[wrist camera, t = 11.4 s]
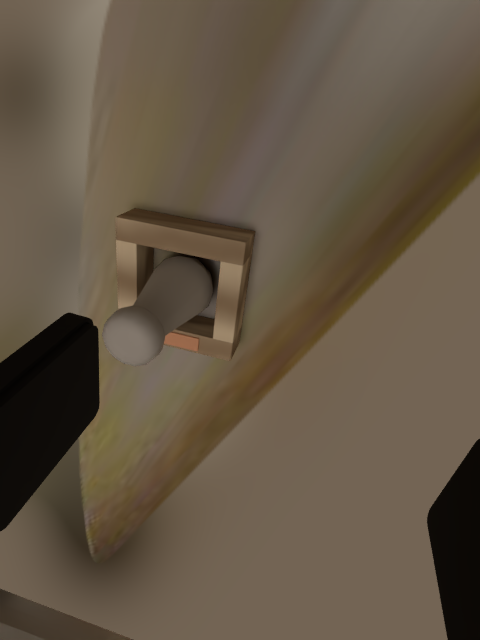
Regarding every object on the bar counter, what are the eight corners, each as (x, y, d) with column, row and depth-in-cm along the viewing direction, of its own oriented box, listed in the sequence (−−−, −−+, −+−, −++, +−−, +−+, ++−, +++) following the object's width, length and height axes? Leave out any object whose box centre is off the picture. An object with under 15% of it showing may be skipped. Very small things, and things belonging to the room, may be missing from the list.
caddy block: (134, 208, 37) (114, 217, 34) (255, 231, 35) (245, 243, 32) (135, 317, 42) (118, 334, 39) (239, 342, 41) (229, 362, 38)
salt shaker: (223, 255, 37) (166, 318, 26) (217, 310, 40) (164, 388, 28) (163, 243, 38) (84, 299, 27) (162, 297, 41) (89, 369, 29)
